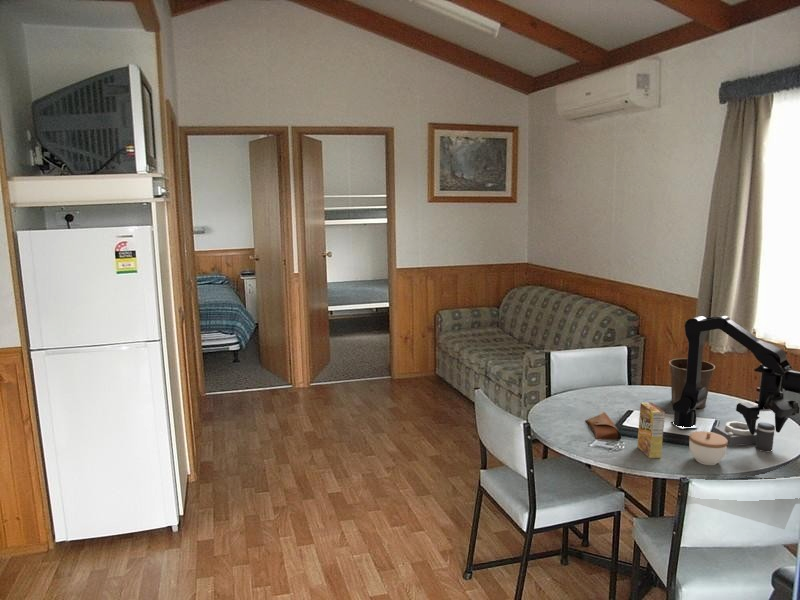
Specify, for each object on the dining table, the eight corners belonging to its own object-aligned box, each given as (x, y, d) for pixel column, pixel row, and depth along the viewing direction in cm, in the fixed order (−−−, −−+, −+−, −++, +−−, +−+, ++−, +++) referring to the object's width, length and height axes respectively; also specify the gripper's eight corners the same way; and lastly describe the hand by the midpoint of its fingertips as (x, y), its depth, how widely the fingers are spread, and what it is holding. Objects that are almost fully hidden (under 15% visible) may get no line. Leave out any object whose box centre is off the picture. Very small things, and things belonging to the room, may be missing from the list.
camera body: (730, 445, 210) (731, 432, 209) (712, 434, 219) (714, 422, 218) (765, 442, 212) (767, 430, 212) (747, 432, 221) (748, 419, 220)
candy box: (636, 447, 210) (639, 402, 207) (648, 446, 210) (652, 402, 207) (649, 458, 201) (652, 412, 198) (662, 457, 201) (665, 411, 199)
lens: (762, 452, 205) (764, 428, 204) (751, 446, 210) (753, 422, 208) (776, 451, 206) (778, 427, 204) (764, 445, 211) (767, 421, 209)
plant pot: (711, 414, 238) (715, 372, 235) (664, 407, 245) (667, 367, 242) (711, 400, 253) (715, 361, 249) (667, 394, 259) (670, 356, 256)
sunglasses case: (582, 419, 233) (593, 404, 232) (599, 429, 234) (609, 414, 232) (596, 439, 216) (607, 423, 214) (613, 449, 216) (625, 433, 215)
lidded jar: (716, 454, 204) (719, 426, 202) (731, 469, 194) (734, 440, 192) (682, 453, 205) (684, 425, 203) (695, 468, 194) (697, 439, 192)
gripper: (762, 397, 195) (756, 445, 198) (816, 393, 198) (810, 441, 201) (737, 385, 205) (732, 431, 208) (788, 382, 209) (783, 427, 212)
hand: (764, 433), depth 207 cm, fingers open, 9 cm apart
